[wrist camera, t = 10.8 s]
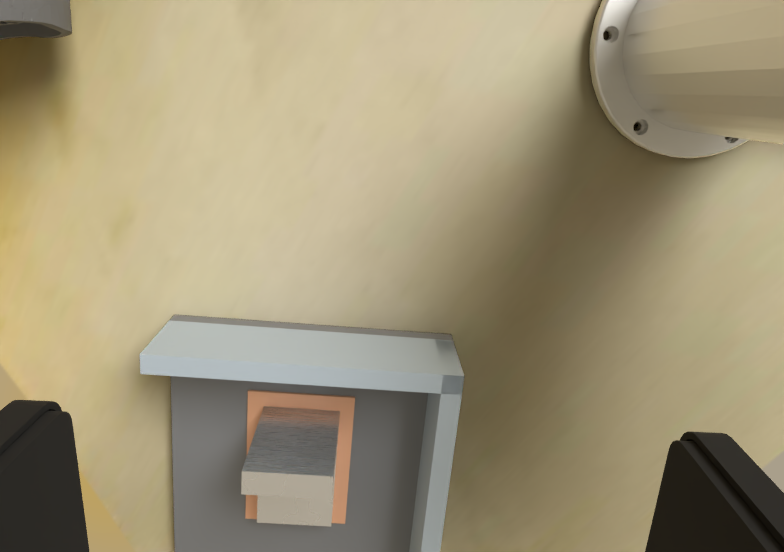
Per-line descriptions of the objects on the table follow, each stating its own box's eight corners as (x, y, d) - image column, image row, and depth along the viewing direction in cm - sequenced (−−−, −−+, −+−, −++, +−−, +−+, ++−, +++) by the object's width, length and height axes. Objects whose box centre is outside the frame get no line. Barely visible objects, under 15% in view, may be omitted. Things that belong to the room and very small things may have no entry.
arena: (451, 334, 39) (464, 376, 34) (422, 555, 45) (430, 623, 39) (174, 314, 38) (139, 354, 33) (179, 543, 44) (149, 611, 38)
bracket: (264, 406, 39) (241, 471, 33) (339, 411, 40) (333, 476, 33) (260, 507, 42) (239, 587, 35) (332, 511, 42) (324, 591, 35)
